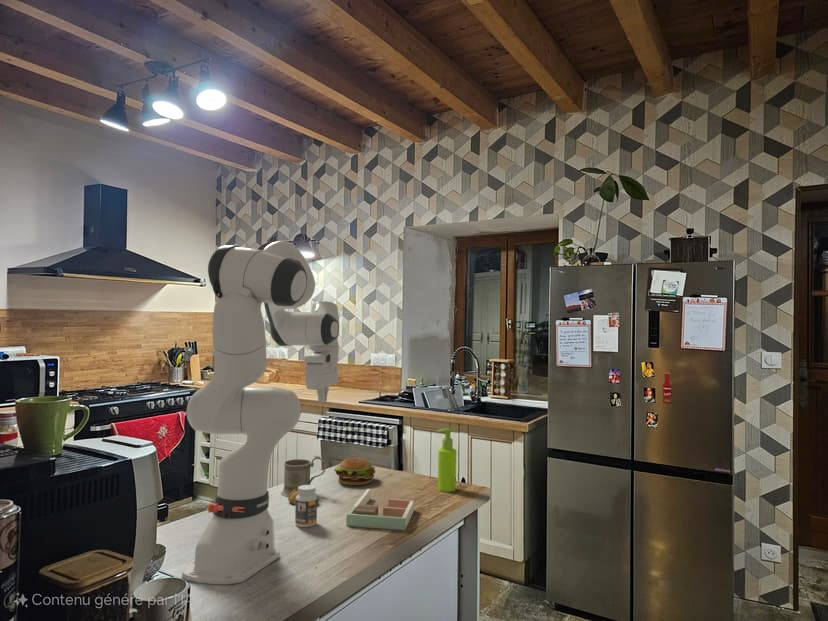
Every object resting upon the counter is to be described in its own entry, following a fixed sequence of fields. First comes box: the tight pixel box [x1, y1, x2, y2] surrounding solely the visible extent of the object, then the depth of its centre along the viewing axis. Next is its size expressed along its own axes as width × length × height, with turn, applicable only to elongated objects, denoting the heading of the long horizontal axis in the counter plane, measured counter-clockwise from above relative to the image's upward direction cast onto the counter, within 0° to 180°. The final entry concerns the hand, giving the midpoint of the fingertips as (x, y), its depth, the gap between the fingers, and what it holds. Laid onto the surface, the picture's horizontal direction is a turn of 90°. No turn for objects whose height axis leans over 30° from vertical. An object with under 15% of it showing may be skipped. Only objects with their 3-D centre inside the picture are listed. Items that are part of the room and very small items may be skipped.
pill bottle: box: [294, 484, 318, 528], centre depth 151 cm, size 6×6×10 cm
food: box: [334, 456, 376, 486], centre depth 194 cm, size 14×14×8 cm
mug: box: [280, 455, 327, 498], centre depth 179 cm, size 14×10×12 cm
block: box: [354, 504, 379, 516], centre depth 154 cm, size 6×6×4 cm
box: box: [345, 488, 415, 531], centre depth 161 cm, size 24×16×3 cm, turn 171°
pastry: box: [287, 489, 319, 506], centre depth 169 cm, size 9×7×4 cm
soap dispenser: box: [436, 428, 457, 493], centre depth 186 cm, size 6×7×20 cm
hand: (322, 401), depth 168 cm, fingers closed
